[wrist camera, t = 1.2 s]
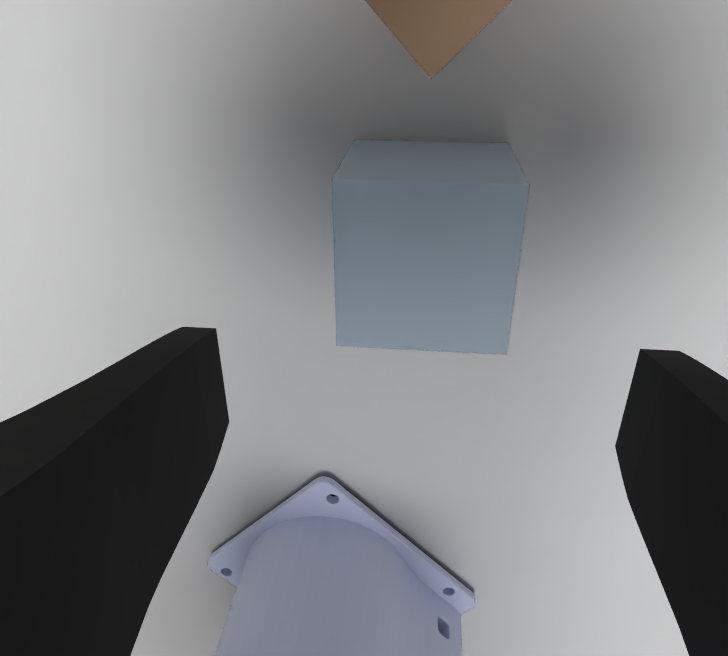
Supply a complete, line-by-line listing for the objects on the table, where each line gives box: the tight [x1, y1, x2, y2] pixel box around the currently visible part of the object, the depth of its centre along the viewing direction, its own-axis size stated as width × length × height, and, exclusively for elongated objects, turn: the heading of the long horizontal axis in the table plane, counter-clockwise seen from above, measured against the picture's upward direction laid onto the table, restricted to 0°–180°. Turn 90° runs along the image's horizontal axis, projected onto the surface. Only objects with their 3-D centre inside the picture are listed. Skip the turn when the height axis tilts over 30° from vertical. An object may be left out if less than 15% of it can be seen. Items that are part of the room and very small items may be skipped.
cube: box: [332, 140, 530, 355], centre depth 17 cm, size 4×4×4 cm
